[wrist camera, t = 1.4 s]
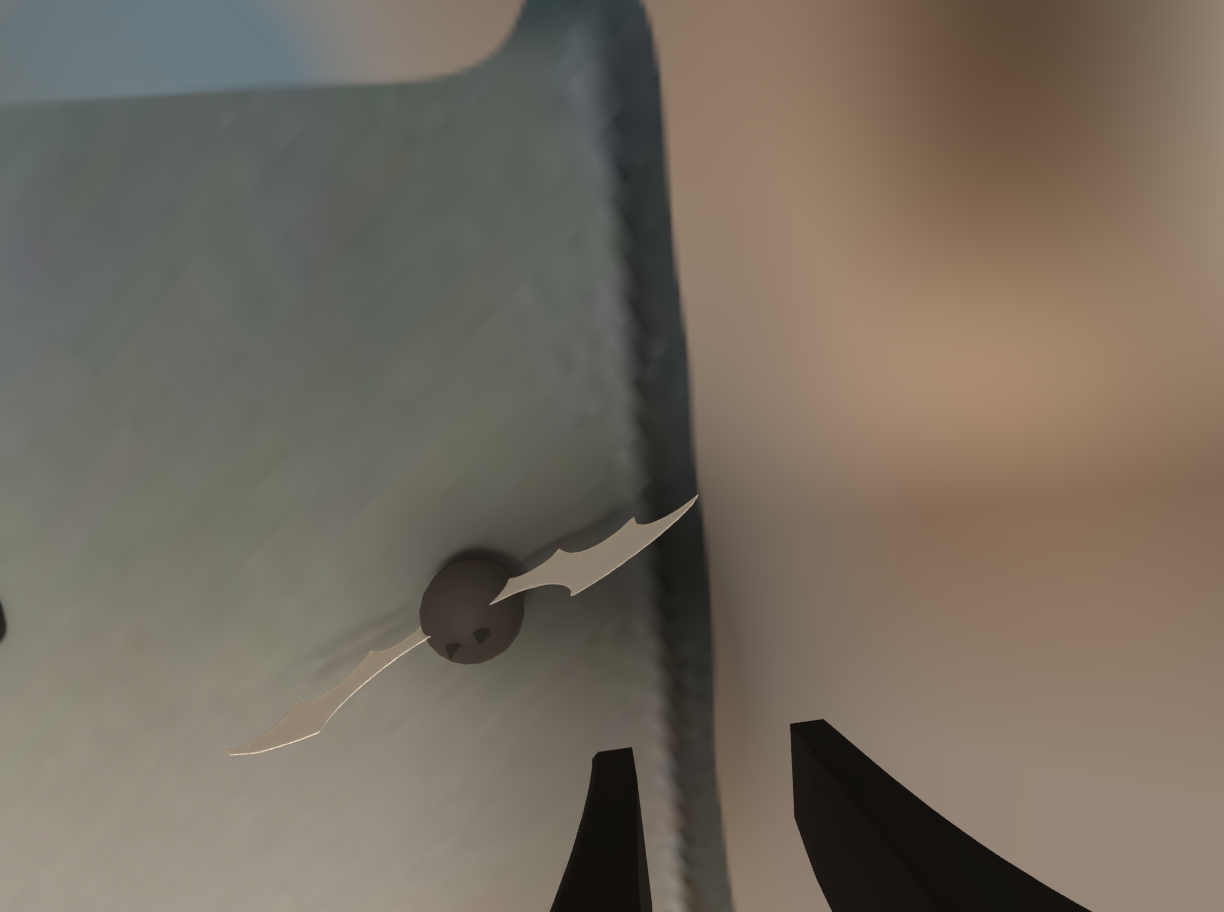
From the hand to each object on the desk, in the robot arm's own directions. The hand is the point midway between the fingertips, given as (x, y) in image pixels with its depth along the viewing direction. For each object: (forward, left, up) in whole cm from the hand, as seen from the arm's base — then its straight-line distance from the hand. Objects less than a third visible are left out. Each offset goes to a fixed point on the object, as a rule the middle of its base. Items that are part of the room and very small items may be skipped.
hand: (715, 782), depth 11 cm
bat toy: (-2, +5, -10) cm, 11 cm away
